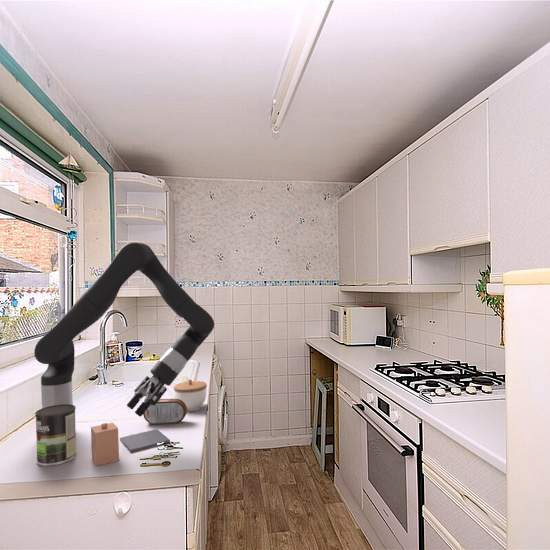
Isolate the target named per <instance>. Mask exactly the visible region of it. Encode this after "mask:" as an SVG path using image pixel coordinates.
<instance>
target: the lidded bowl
mask: <svg viewBox="0 0 550 550" xmlns="http://www.w3.org/2000/svg"><path fill="white" fill-rule="evenodd" d="M207 387H208V386H207V383H206V382H205V381H200V380H192V379H189V380H188V381H183V382H180V383H177V384H175V385H174V386H173V390H174V393H173V394H174V399H180V400H182V401H183V402H184V403H185V404H186V407H187V412H195V411H197V410H199V409H200V408H202V406H203V404H204V403H205V401H206V398H207Z"/></svg>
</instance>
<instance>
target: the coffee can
mask: <svg viewBox="0 0 550 550" xmlns="http://www.w3.org/2000/svg"><path fill="white" fill-rule="evenodd" d="M76 407H77V406H76V405H74V404H73V405H70V404H61V405H53V406H49V407H45V408H42V407H41V408H40V409H38V410H37V411H35V413H34V414H35V425H36V427H35V429H36V431H35V433H36V436H35V437H36V465H38V466H42V467H51V466H52V465H53V466H57V465H58V464H59V465H62V464H65V463H67V462H69V461H70V462H71V460H73V459H74V458H76V457H77V442H76V441H77V438H76V429H77V428H76Z"/></svg>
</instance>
